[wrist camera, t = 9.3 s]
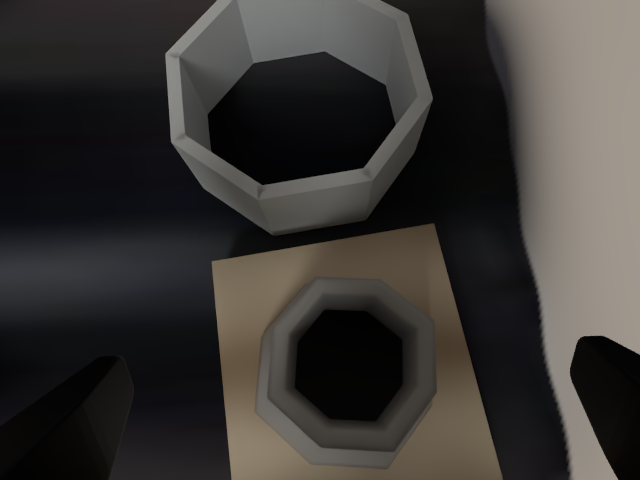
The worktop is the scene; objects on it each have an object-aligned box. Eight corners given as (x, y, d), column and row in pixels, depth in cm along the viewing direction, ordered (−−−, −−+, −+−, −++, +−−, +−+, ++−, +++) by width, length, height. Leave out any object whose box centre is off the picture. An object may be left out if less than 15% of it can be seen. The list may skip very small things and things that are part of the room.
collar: (430, 209, 21) (453, 166, 17) (208, 247, 21) (176, 213, 17) (382, 33, 25) (392, -39, 21) (191, 64, 25) (161, -2, 21)
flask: (225, 425, 17) (80, 483, 7) (294, 258, 19) (252, 135, 9) (402, 503, 16) (500, 689, 6) (456, 318, 18) (592, 248, 8)
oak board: (490, 487, 18) (508, 501, 16) (249, 532, 17) (238, 551, 16) (425, 237, 21) (433, 223, 19) (223, 272, 21) (211, 261, 19)
